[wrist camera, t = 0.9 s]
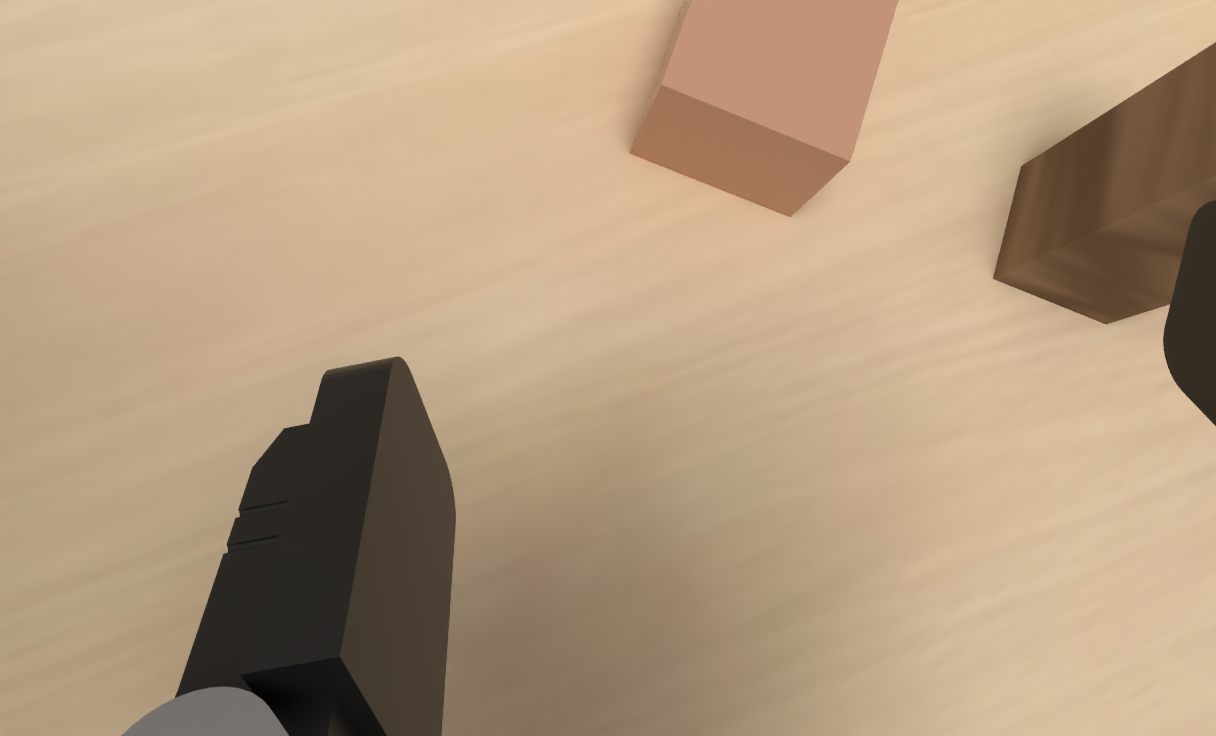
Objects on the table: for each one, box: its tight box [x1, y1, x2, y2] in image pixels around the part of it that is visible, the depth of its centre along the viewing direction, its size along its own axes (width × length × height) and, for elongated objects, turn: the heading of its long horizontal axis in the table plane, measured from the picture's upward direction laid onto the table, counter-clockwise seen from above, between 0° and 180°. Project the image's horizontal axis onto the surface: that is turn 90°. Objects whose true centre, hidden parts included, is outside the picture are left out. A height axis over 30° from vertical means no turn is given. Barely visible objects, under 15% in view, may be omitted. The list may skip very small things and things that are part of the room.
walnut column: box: [993, 42, 1216, 324], centre depth 28 cm, size 5×5×11 cm
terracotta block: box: [629, 0, 898, 217], centre depth 29 cm, size 6×6×5 cm
